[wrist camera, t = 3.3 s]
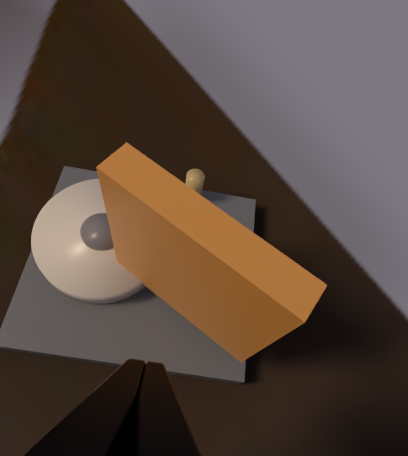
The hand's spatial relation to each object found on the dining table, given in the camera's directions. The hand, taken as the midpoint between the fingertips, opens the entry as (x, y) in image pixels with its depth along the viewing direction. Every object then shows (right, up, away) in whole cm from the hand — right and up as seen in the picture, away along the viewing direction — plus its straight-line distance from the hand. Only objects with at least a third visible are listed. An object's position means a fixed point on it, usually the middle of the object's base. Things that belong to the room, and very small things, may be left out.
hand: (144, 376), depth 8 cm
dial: (-2, +1, +14) cm, 14 cm away
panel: (-3, +1, +16) cm, 16 cm away
